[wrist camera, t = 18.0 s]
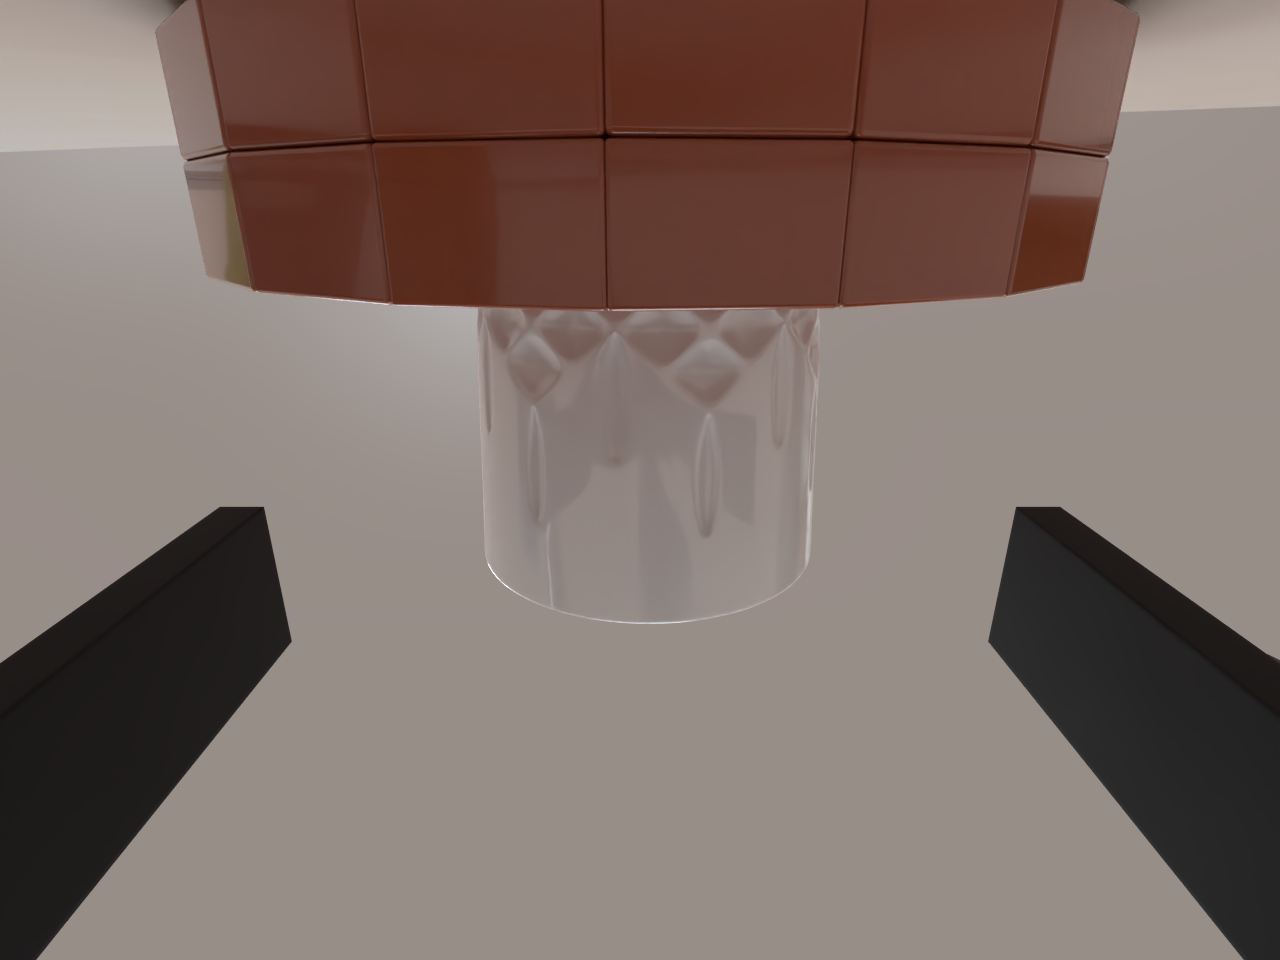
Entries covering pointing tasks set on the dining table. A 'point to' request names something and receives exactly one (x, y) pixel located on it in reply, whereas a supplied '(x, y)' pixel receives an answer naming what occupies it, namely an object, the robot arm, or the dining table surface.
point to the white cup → (648, 458)
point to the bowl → (646, 148)
